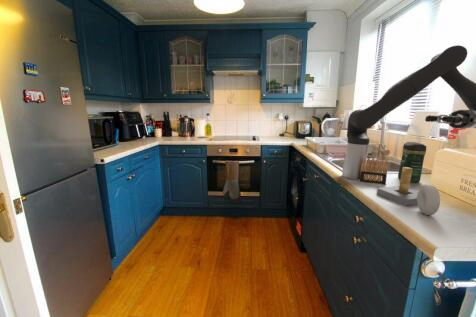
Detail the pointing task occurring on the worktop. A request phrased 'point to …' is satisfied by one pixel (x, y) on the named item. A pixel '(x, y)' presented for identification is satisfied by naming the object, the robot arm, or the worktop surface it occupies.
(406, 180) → the dowel
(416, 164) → the coffee jar
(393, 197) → the socket block
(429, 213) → the donut
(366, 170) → the ammunition clip
